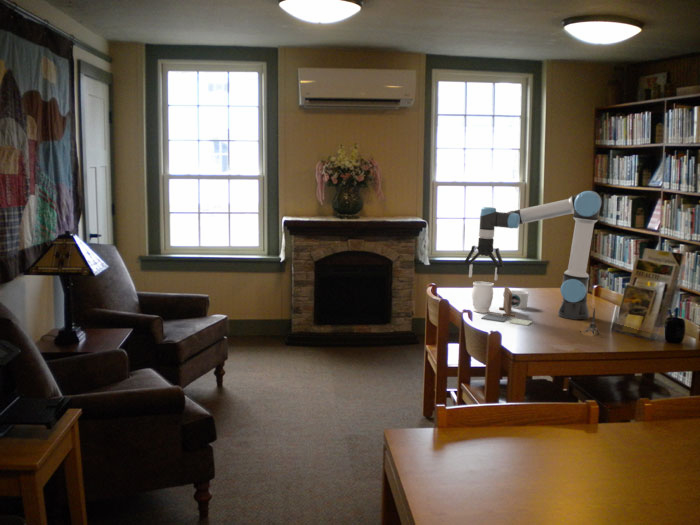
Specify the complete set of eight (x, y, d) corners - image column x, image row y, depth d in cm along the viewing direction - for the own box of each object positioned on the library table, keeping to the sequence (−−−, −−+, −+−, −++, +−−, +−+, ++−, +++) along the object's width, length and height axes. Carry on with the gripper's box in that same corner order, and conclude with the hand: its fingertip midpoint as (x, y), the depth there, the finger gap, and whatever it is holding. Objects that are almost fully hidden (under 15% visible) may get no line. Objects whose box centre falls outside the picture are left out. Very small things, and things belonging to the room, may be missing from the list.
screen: (510, 309, 375) (512, 287, 374) (515, 316, 358) (516, 293, 356) (498, 308, 376) (500, 286, 374) (503, 316, 358) (504, 292, 356)
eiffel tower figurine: (577, 329, 338) (580, 302, 336) (600, 331, 336) (602, 303, 334) (581, 337, 323) (583, 308, 321) (604, 339, 321) (607, 310, 319)
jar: (490, 310, 372) (492, 281, 370) (492, 314, 362) (494, 285, 360) (470, 308, 373) (472, 280, 371) (471, 312, 363) (473, 284, 361)
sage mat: (532, 322, 347) (532, 320, 347) (527, 325, 339) (527, 324, 339) (514, 319, 351) (514, 318, 351) (509, 323, 343) (509, 321, 343)
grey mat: (509, 318, 355) (509, 316, 354) (503, 322, 345) (503, 320, 345) (487, 315, 360) (488, 313, 359) (481, 319, 350) (481, 317, 350)
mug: (529, 306, 386) (530, 291, 385) (525, 309, 376) (526, 294, 375) (504, 303, 391) (505, 289, 390) (500, 306, 382) (501, 292, 381)
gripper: (512, 239, 360) (508, 280, 363) (465, 234, 371) (462, 274, 374) (508, 240, 353) (504, 282, 356) (460, 235, 365) (457, 276, 368)
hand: (482, 278), depth 365 cm, fingers open, 13 cm apart
